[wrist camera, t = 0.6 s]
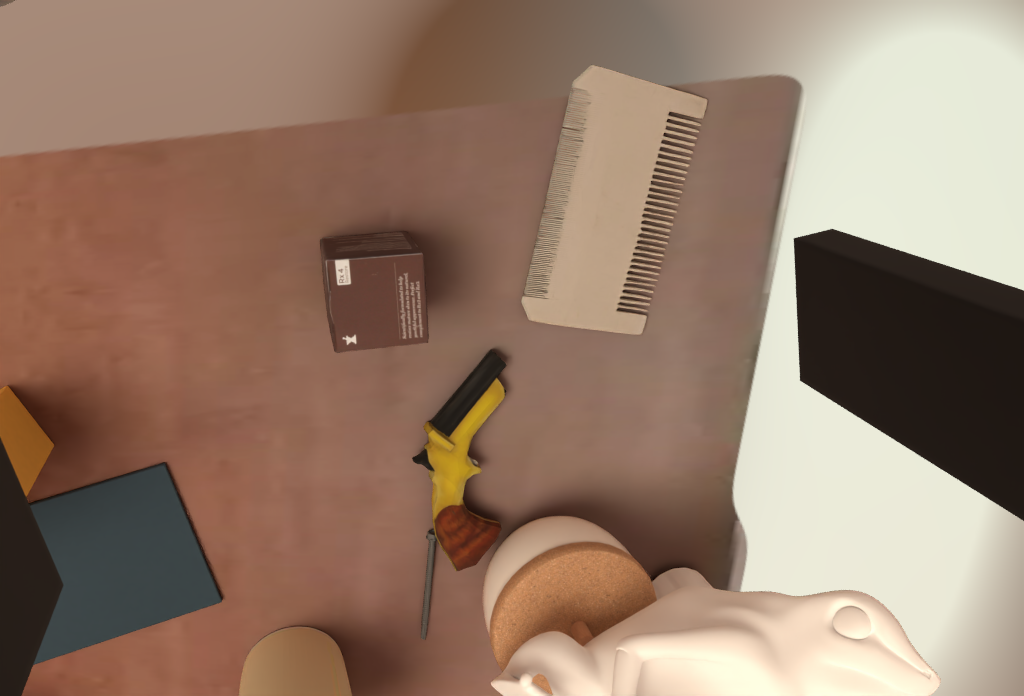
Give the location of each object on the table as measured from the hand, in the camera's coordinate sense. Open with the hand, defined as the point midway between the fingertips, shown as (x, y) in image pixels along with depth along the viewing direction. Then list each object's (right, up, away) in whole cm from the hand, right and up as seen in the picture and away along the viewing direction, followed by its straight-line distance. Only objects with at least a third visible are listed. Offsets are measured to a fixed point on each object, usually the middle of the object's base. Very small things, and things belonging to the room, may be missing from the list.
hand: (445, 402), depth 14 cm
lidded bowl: (+3, -16, +57) cm, 59 cm away
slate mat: (-28, -14, +47) cm, 57 cm away
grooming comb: (+13, +10, +49) cm, 52 cm away
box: (-9, +6, +46) cm, 47 cm away
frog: (+5, -19, +51) cm, 55 cm away
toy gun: (+2, -11, +53) cm, 54 cm away
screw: (-5, -18, +54) cm, 57 cm away
